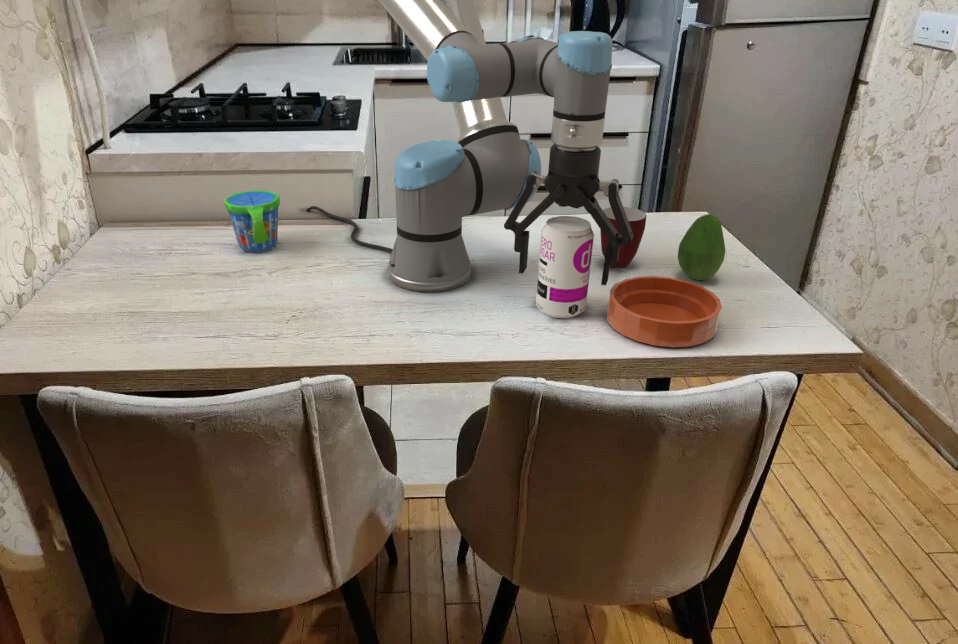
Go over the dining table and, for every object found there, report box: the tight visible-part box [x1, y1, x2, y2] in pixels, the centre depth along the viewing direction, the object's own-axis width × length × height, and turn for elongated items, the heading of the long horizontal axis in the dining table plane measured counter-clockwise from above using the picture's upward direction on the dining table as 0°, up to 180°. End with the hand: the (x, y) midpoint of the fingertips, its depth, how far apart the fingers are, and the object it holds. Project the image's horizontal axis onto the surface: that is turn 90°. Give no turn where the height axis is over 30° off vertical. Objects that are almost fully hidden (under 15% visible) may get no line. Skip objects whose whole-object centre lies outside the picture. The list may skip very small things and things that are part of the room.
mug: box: [599, 206, 648, 269], centre depth 134 cm, size 10×8×10 cm
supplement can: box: [535, 215, 595, 319], centre depth 118 cm, size 8×8×15 cm
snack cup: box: [224, 189, 281, 253], centre depth 144 cm, size 16×10×10 cm
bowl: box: [606, 275, 723, 348], centre depth 116 cm, size 17×17×4 cm
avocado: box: [677, 213, 726, 281], centre depth 129 cm, size 8×8×12 cm
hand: (563, 276), depth 119 cm, fingers open, 13 cm apart
